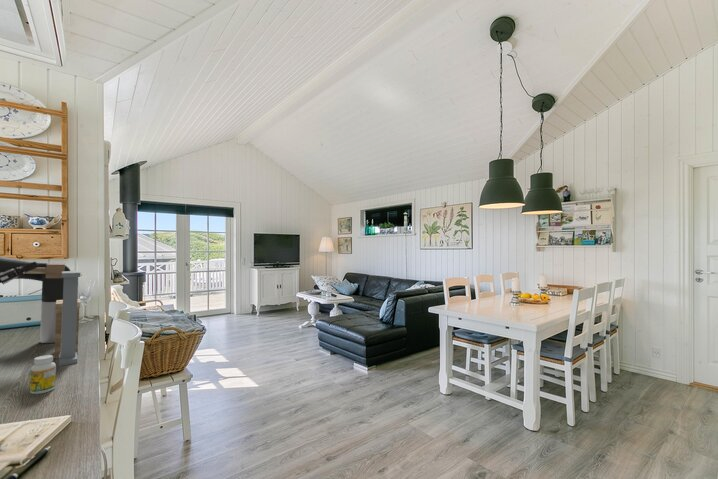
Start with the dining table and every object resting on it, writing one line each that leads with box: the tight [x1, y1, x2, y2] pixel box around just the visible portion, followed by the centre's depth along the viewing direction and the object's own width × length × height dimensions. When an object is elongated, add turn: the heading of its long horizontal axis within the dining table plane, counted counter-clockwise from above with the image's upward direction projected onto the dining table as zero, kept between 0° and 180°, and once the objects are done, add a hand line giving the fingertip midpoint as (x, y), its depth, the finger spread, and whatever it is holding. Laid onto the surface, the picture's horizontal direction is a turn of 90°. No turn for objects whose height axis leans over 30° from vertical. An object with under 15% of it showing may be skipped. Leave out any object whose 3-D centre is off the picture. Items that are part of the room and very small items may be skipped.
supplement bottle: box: [29, 354, 57, 395], centre depth 99 cm, size 5×5×10 cm
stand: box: [57, 270, 81, 367], centre depth 124 cm, size 10×5×32 cm, turn 40°
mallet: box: [16, 262, 66, 278], centre depth 127 cm, size 8×13×5 cm, turn 130°
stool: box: [53, 298, 81, 359], centre depth 132 cm, size 10×7×20 cm
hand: (36, 264), depth 126 cm, fingers closed on mallet
